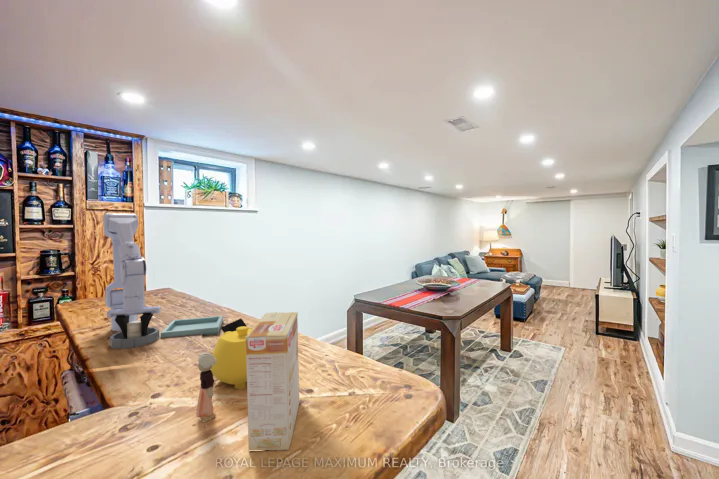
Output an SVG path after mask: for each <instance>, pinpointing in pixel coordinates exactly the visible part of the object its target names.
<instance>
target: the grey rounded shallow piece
mask: <svg viewBox="0 0 719 479" xmlns="http://www.w3.org/2000/svg"><path fill="white" fill-rule="evenodd" d="M158 339H160V329H159V328H158V327H155V326H152V327H151V326H148V329H147V334H146V335H145V336H142V337H137V338H130V339H127V338H124V336H123V333H122V331H117V332H115V333H113V334H112V335H111V336H109V346H110V348H112V349H118V350H121V349H122V350H126V349H134V348H138V347H143V346H145V345H150V344H151V343H154V342H157V341H158Z"/></svg>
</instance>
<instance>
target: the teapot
mask: <svg viewBox="0 0 719 479" xmlns="http://www.w3.org/2000/svg"><path fill="white" fill-rule="evenodd" d="M246 326H247V325H246ZM246 326H242V327H238V328H237V329H236V330H237V331H233V332H231V331H228V332H225V333H224V332H223V333H222V335H220V337H218V339H217V341H216V343H215V346H214V349H213V352H212V353H211V354H212V355H213V356H214V357H215V358H216V360H217V363H216V364H215V365H213V366H212V368H211V369H210V370H211V371H212V374H213V377H215V378H216V379H217V380H218V381H219V382H220V383H225V384H228V385H234V386H233V388H234V390H243V389H244V388H246V387H247V367H246V339H245V337H246V336H247V335H248V334H249V333H250V331H251V330H252V329H253V328H250V327H249V326H247V327H246Z"/></svg>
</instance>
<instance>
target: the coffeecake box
mask: <svg viewBox="0 0 719 479" xmlns="http://www.w3.org/2000/svg"><path fill="white" fill-rule="evenodd" d="M298 327H299V326H298V312H297V311H295V312H266V313H265V314H264V315H263V316H261V318H260V319H259V321H257V323H256V324H255V325H254V327H253V328H252V330H251V331H250V333H249V334H248V335H247V336H246V337H245V339H246V367H247V382H246V390H247V396H246V397H247V398H246V399H247V428H248V429H247V431H248V434H247V435H248V436H247V437H248V440H247V441H248V451H249V450H277V451H288V450H289V449H290V448H291V447H290V446H291V442H292V440H293V439H292V438H293V433H294V430H295V424H296V421H297V417H298V416H297V415H298V412H299V406H300V379H299V378H300V377H299V376H300V374H299V366H300V365H299V328H298Z"/></svg>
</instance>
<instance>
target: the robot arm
mask: <svg viewBox="0 0 719 479" xmlns="http://www.w3.org/2000/svg"><path fill="white" fill-rule="evenodd" d="M102 216H103V217H102V218H103V219H102V225H103V233H104V236H105V237H108V238H110V241H111V243H112V258H113V259H112V261H113V262H112V264H113V277H114V278H113V279H114V281H112V282H110V283H109V284H108V285H107V286H106V287H105V288H104V290H105V293H104V301H105V306H106V307H107V309H108V311H106V318H110V324H111V325H110V328H111V331H112V332H121V331H122V333H123V336H124V338H127V323H129V322H133V321H139V320H138V315H141V316H139V319H140V321H141V325H142V336H145V335H146V334H147V329H148V327H149V326H150V322H151V320H152V318H153V316H154V314H155V315H156V314H160V313H161V312H162V307H161V306H146V297H145V296H146V294H145V293H146V292H145V276H146V274H147V263H146V262H147V261H146V259H145V258H144V256H142V255H141V251H140V247H139V245H138V243H136V242H134V240H135V239H134V236H135V235H136V233H137V230H138V227H139V217H138V214H136V213H111V212H109V213H108V212H105V214H103V215H102ZM109 309H110V310H109Z"/></svg>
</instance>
